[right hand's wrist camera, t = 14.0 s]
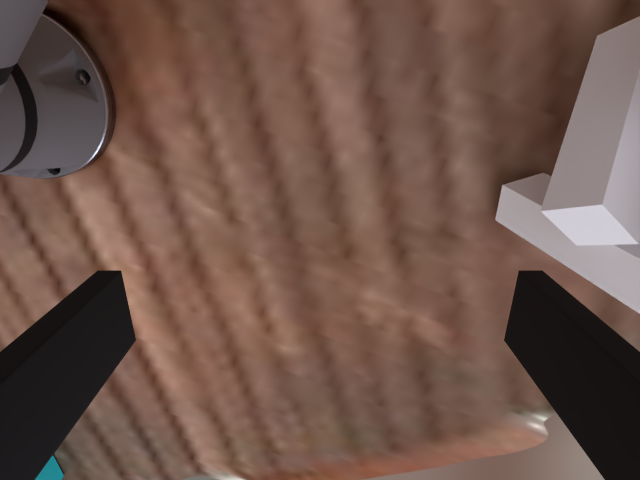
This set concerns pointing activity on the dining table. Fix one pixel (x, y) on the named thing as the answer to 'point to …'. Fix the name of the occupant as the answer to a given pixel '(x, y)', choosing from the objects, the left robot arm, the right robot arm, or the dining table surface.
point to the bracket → (51, 471)
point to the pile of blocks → (592, 176)
